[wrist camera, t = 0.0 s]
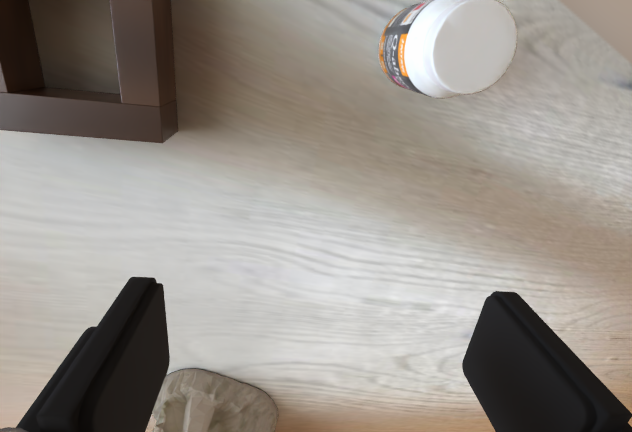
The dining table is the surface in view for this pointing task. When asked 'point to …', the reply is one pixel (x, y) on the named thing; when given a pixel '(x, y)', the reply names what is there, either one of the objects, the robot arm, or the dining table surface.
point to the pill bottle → (448, 46)
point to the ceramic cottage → (211, 405)
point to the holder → (84, 106)
